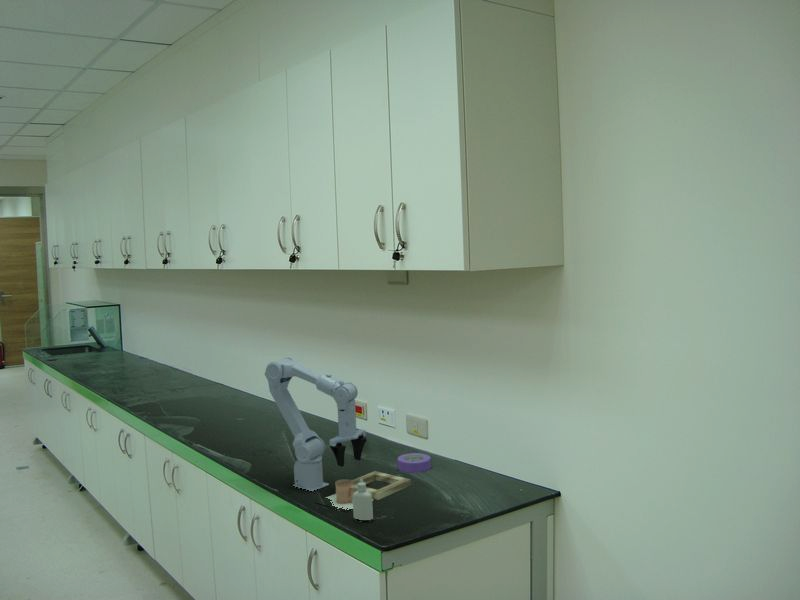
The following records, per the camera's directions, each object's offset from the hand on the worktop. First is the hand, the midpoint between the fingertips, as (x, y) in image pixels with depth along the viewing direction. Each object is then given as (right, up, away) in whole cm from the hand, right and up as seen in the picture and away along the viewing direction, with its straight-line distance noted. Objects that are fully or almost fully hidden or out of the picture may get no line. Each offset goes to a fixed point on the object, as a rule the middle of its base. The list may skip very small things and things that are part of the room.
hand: (349, 462), depth 227 cm
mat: (-1, -10, -9) cm, 13 cm away
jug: (-1, -10, -9) cm, 13 cm away
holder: (+9, -9, +3) cm, 13 cm away
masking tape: (+22, -7, +22) cm, 32 cm away
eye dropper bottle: (+6, -11, -24) cm, 27 cm away
